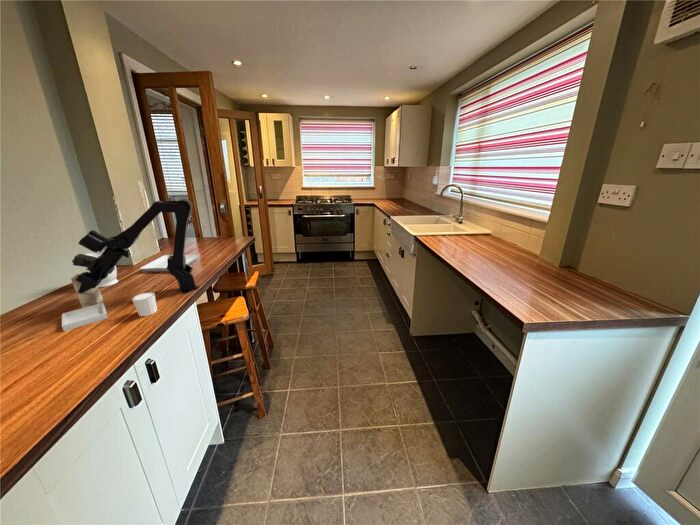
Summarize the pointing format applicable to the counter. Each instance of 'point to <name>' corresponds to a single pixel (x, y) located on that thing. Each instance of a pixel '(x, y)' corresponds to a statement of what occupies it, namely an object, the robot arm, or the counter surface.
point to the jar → (111, 277)
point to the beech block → (87, 294)
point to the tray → (83, 316)
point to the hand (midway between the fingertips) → (83, 289)
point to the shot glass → (145, 303)
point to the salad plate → (166, 263)
